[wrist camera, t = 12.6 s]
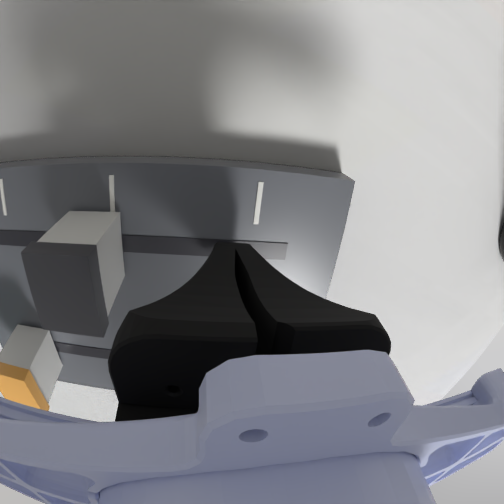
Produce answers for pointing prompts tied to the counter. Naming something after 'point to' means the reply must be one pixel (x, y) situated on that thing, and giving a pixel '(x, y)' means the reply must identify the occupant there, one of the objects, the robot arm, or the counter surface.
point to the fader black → (76, 272)
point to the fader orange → (29, 367)
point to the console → (166, 230)
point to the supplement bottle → (502, 242)
